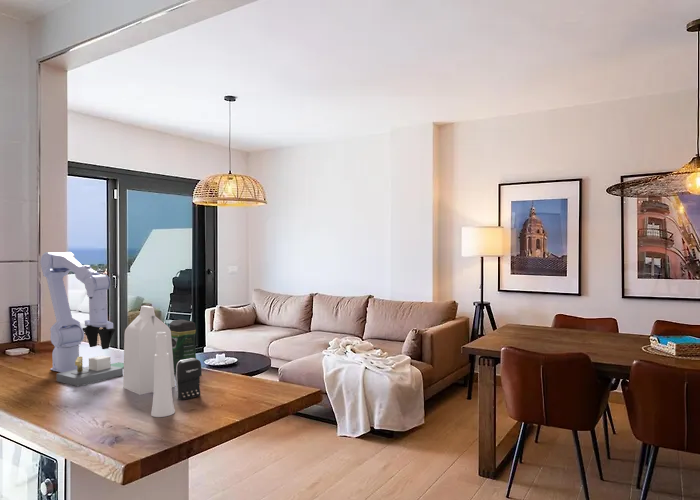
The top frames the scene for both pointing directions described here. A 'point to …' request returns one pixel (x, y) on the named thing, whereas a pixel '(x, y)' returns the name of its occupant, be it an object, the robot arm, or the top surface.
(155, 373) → the cosmetic bottle
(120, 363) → the mat
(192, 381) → the battery charger
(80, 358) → the brass lever handle
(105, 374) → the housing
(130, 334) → the milk
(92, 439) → the top surface
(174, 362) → the coffee jar
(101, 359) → the white square block
